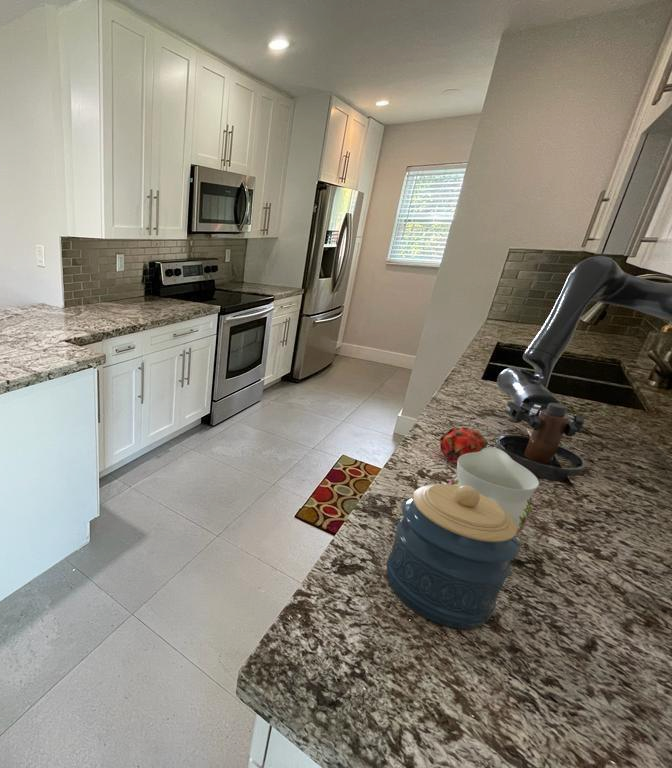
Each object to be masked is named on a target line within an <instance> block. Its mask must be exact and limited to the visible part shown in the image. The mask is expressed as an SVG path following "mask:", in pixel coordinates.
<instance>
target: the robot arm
mask: <svg viewBox="0 0 672 768" xmlns="http://www.w3.org/2000/svg"><path fill="white" fill-rule="evenodd" d="M590 301H593V302H597V303H602V304H607V305H612V306H616V307H623V308H626V309H631V310H635V311H638V312H639V313H640V312H641V313H643V314H646V315H649V316H651V317H655V318H658V319H661V320H664V321H667V322H670V323H672V282H658V281H652V280H648V279H645V278H641V277H638V276H635V275H632V274H629V273H627V272H625V271H624V270H623V269H622V268H621V267H620V266H619V264H618V263H617V262H616V261H615V260H613V259H612V258H611V257H608V256H603V255H597V256H596V255H595V256H592V257H588V258H586V259H583V260H582V261H580V262H578V263H577V264H576V265H575V266H573V268H572V269H571V271H570V273H569V275H568V276H567V278H566V281H565V283H564V285H563V287H562V290H561V292H560V294H559V296H558V298H557V299H556V301H555V303H554V306H553V308H552V309H551V312H550V313H549V315H548V317H546V318H547V319H546V320H545V321H544V323H543V325H542V327H541V328H540V329H539V331H538V333H537V334H536V335H535V336H534V338H533V340H532V341H531V343H530V344H529V345H528V347H527V348H526V350H525V351H524V353H523V355H522V359H523V360H524V361H525V362H526V363H527V364H529V365H531V366H532V367H533V369H534V373H532V372H530V371H527V370H525V369H522V368H520V367H517V366H511V367H507V368H505V369H503V370H501V372H500V373H499V374H498V376H497V379H496V384H497V387H498V389H499V390H500V391H502V392H503V393H504V394H505V395H507V396H508V397H510V398H511V399H512V400H513V402H512V401H508V402H507V404H506V407H505V409H504V413H506V415H508V416H509V417H510V418H511V419H513V420H514V421H515V422H523V421H524V422H525V424H526V425H528V427H530V428H531V429H533V430H537V431H538V430H539V427H540V424H541V421H540V419H539V418H538V415H539V413H540V410H543V409H547V407H548V405H549V403H558V404H561V403H560V401H559V400H558V399H557V398H556V397H555V395H554V394H553V393H552V391H550V390H549V389H548V386H549V382H550V379H551V375H552V372H553V370H554V367H555V365H556V363H558V361H559V359H560V358H561V356H562V355H563V353H565V351H566V349H567V348H568V347H569V345H570V343H571V342H572V339H573V337H574V335H575V332H576V331H577V330H576V329H577V327H578V324H579V322H580V319H581V317H582V314H583V312H584V311H585V309H586V307H587V306H588V304H589V303H590ZM565 414H567V415H568V416H570V419H569V421H568V424H567V426H566V429H565V431H564V435H566V436H569V437H568V438H570V437H573V436H575V435H576V433H581V430H582V427H583V425H584V423H585V415H584V414H582V413H576V414H573V415H571V414H568V412H566V413H565Z"/></svg>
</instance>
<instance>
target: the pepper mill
mask: <svg viewBox="0 0 672 768" xmlns="http://www.w3.org/2000/svg"><path fill="white" fill-rule="evenodd" d="M567 411H568V406H567V405H565V404H562V403H560V404H558V403H549V405H548V407H547V409H543V410H540V413H539V415H538V418H539V419H540V421H541V424H540V427H539V430H538V431H537V430H533V431H532V434H531V437H530V436H529V437H530V439H529V442H528V445H527V447H526V450H525V453H524V456H525V457H526V458H528V459H530V460H532V461H535V462H539V463H544V464H550V463H552V461H553V458H554V456H555V457H556V451H557V448H558V446H560V444H561V441H562V438H563V437H564V436H563V435H565V433H564V431H565V429H566V426H567V424H568V421H569V419H570V416H568V415H569V414H568V413H567ZM565 413H567V414H565Z"/></svg>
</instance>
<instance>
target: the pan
mask: <svg viewBox="0 0 672 768" xmlns="http://www.w3.org/2000/svg"><path fill="white" fill-rule="evenodd" d="M529 439H530V436H526V435H516V434H504V435H501V436H498V437H497V438H496V440H495V442H494V445H493V447H494V448H498V449H500V450H502V451H504V452H505V453H506V454H508V455H509V456H510V457H511V459H512V460H514V461H515V462H517V463H518V464H520V465H522V466H523V467H525V468H526V469H528V470H529V471H530V472H532V473H533V474H534V475H535V476H536V478H541V479H546V480H550V481H556V482H558V481H559V482H571V479H570V478H569V477H579V476H580V475H582V474H584V472H585V470H586V468H587V465H588V462H587V461H586V460H585V459H584V458H583V457H582V456H581V455H579V454H578V453H576V452H575V451H573V450H571V449H569V448H566V447H564V446H562V445H559V446H558V448H557V451H556V453H555V456H554V458H553V461H552V463H550V464H544V463H539V462H535V461H532V460H530V459H528V458H526V457H525V456H524V453H525V450H526V447H527V445H528V442H529ZM556 455H559V456H561V457H562V458H565V459H566V460H568V461H569V462H571V463H572V464H573V466H574V467H562V465H561V464H560V462H559V460H558V459H557V458H556Z"/></svg>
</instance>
